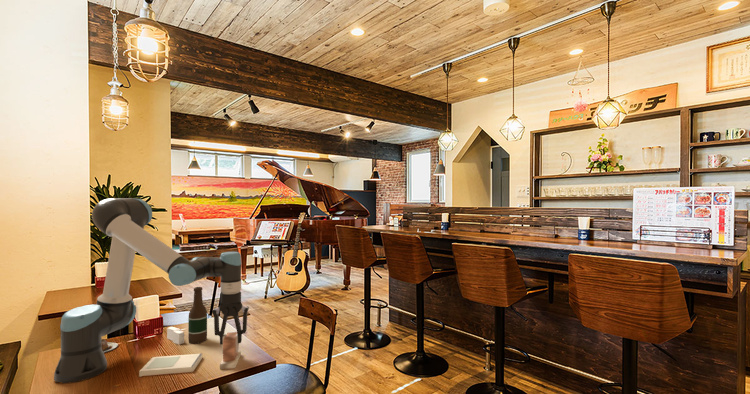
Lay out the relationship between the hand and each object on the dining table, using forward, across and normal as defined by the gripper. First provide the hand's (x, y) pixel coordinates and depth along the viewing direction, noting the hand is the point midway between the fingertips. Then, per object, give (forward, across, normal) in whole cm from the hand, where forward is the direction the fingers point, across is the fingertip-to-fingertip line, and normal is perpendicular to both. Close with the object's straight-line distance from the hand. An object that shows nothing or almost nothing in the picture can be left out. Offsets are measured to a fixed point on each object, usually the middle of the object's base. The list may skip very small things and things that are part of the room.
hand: (230, 351), depth 143 cm
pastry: (+5, -57, +24) cm, 62 cm away
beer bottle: (+4, -19, +26) cm, 32 cm away
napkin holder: (+5, -29, +28) cm, 40 cm away
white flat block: (+4, -21, 0) cm, 21 cm away
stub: (+4, 0, 0) cm, 4 cm away
